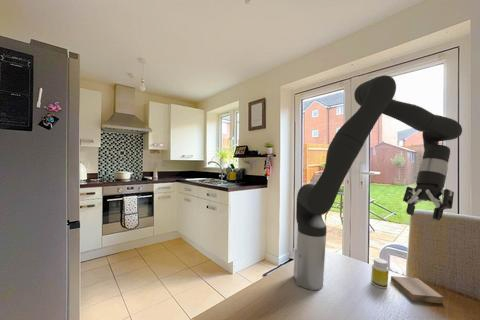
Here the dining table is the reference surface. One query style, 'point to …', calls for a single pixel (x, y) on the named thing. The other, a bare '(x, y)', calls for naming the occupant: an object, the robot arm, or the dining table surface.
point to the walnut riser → (416, 290)
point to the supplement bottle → (379, 273)
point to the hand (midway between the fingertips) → (422, 217)
